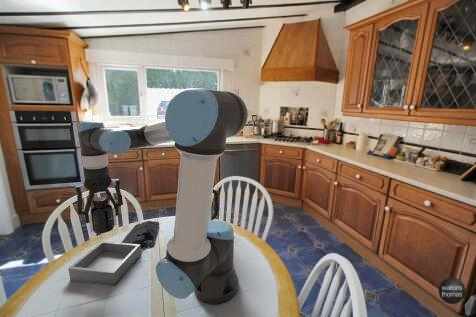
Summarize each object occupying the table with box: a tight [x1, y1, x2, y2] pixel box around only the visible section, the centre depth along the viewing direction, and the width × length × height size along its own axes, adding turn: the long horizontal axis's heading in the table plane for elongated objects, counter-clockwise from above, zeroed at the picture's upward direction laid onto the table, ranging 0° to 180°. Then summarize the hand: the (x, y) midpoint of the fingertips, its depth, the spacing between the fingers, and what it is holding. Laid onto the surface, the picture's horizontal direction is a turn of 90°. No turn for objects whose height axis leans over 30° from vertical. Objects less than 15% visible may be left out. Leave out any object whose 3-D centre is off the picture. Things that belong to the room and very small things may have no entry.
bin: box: [68, 240, 142, 287], centre depth 89 cm, size 17×17×5 cm
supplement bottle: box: [89, 196, 115, 235], centre depth 85 cm, size 7×7×12 cm
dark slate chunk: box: [121, 220, 160, 250], centre depth 111 cm, size 15×22×5 cm
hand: (103, 226), depth 86 cm, fingers closed on supplement bottle, 7 cm apart
